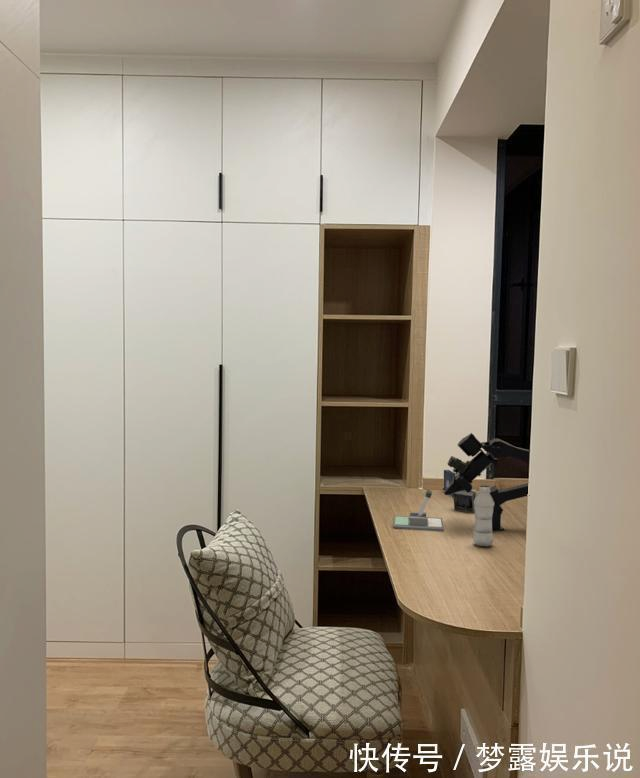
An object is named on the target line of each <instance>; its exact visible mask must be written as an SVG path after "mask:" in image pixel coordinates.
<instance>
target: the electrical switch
mask: <svg viewBox="0 0 640 778" xmlns="http://www.w3.org/2000/svg"><path fill="white" fill-rule="evenodd" d="M477 495H478V491H477V490H476V489H472V490H471V491H470V492H469V493H468V492H467V491H466V490H462V491H459V492H456V493H453V497H452V498H453V505H454V507H453V508H454V511H459V510H460V511H459V512H464V511H466V513H470V512H471V514H474V513H475V508H474V499H475V498H476V496H477ZM465 509H466V510H465Z"/></svg>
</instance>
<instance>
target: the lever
mask: <svg viewBox="0 0 640 778" xmlns="http://www.w3.org/2000/svg"><path fill="white" fill-rule="evenodd" d="M432 494H433V492H432V490H430V489H426V491H425V493H424V498H423V501H422V503H421V506H420V508H419V511H417V512H418V515H417V517H422V514H423V512H425V510H426V507H427V504H428V501H429V500H430V499H431V497H432Z"/></svg>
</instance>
